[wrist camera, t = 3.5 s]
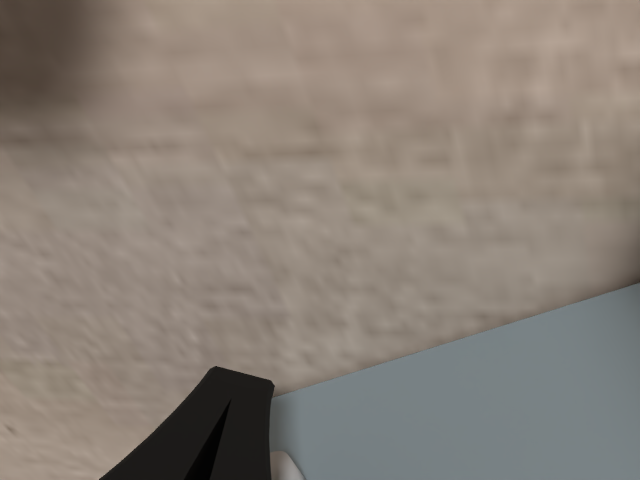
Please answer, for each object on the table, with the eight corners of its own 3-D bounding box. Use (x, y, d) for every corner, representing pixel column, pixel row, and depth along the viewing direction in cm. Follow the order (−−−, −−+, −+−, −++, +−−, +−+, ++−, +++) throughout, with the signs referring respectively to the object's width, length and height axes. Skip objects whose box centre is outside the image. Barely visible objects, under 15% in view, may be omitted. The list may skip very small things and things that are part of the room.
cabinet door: (289, 425, 18) (236, 641, 13) (254, 374, 17) (181, 580, 12) (877, 254, 13) (1220, 487, 8) (865, 171, 12) (1237, 363, 7)
